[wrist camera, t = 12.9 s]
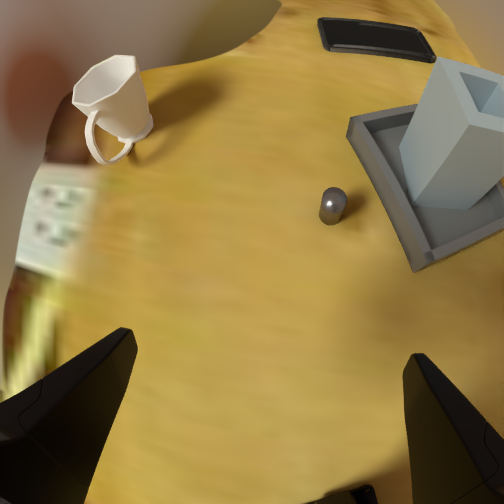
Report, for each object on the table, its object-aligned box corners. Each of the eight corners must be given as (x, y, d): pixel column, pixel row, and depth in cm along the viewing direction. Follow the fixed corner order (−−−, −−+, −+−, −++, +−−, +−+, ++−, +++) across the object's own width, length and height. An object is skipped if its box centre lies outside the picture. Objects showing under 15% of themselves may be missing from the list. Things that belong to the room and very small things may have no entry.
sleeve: (467, 209, 23) (536, 142, 12) (410, 206, 23) (469, 124, 13) (449, 139, 25) (494, 61, 14) (395, 132, 25) (429, 43, 15)
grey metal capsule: (344, 221, 24) (350, 205, 22) (324, 228, 24) (328, 212, 22) (335, 202, 25) (340, 184, 22) (315, 208, 25) (318, 191, 22)
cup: (172, 101, 30) (147, 47, 23) (150, 179, 28) (110, 128, 20) (118, 108, 31) (87, 62, 24) (91, 182, 29) (46, 140, 21)
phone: (438, 60, 28) (324, 47, 30) (435, 66, 29) (324, 53, 31) (418, 28, 30) (316, 16, 32) (416, 33, 32) (316, 22, 33)
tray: (503, 230, 22) (518, 219, 20) (413, 272, 23) (427, 263, 20) (437, 116, 27) (446, 99, 24) (345, 136, 27) (350, 117, 24)
